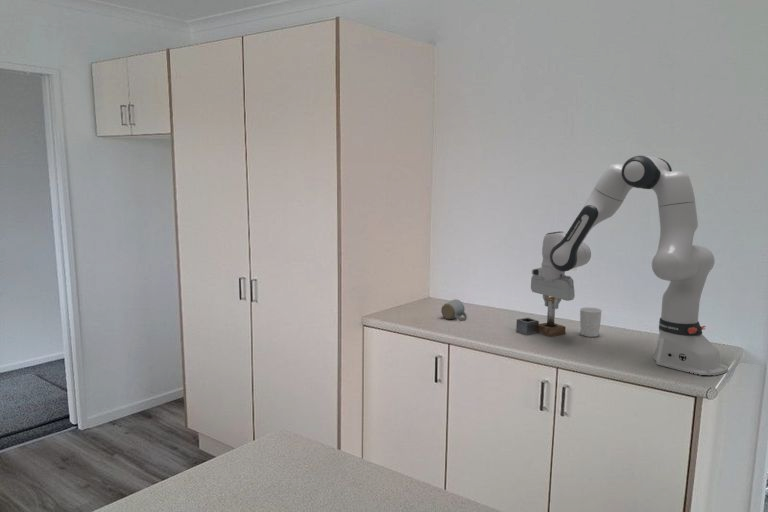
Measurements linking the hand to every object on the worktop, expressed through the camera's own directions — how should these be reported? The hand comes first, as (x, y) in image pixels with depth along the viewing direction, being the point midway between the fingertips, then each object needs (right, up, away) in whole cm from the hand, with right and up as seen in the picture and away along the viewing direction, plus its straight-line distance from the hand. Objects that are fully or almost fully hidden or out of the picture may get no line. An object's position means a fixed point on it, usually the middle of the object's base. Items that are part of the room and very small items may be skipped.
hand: (551, 307), depth 231 cm
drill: (0, -8, +1) cm, 8 cm away
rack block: (0, -10, +1) cm, 10 cm away
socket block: (-9, -10, +2) cm, 14 cm away
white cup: (+15, -11, -1) cm, 18 cm away
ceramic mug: (-35, -7, +24) cm, 43 cm away
